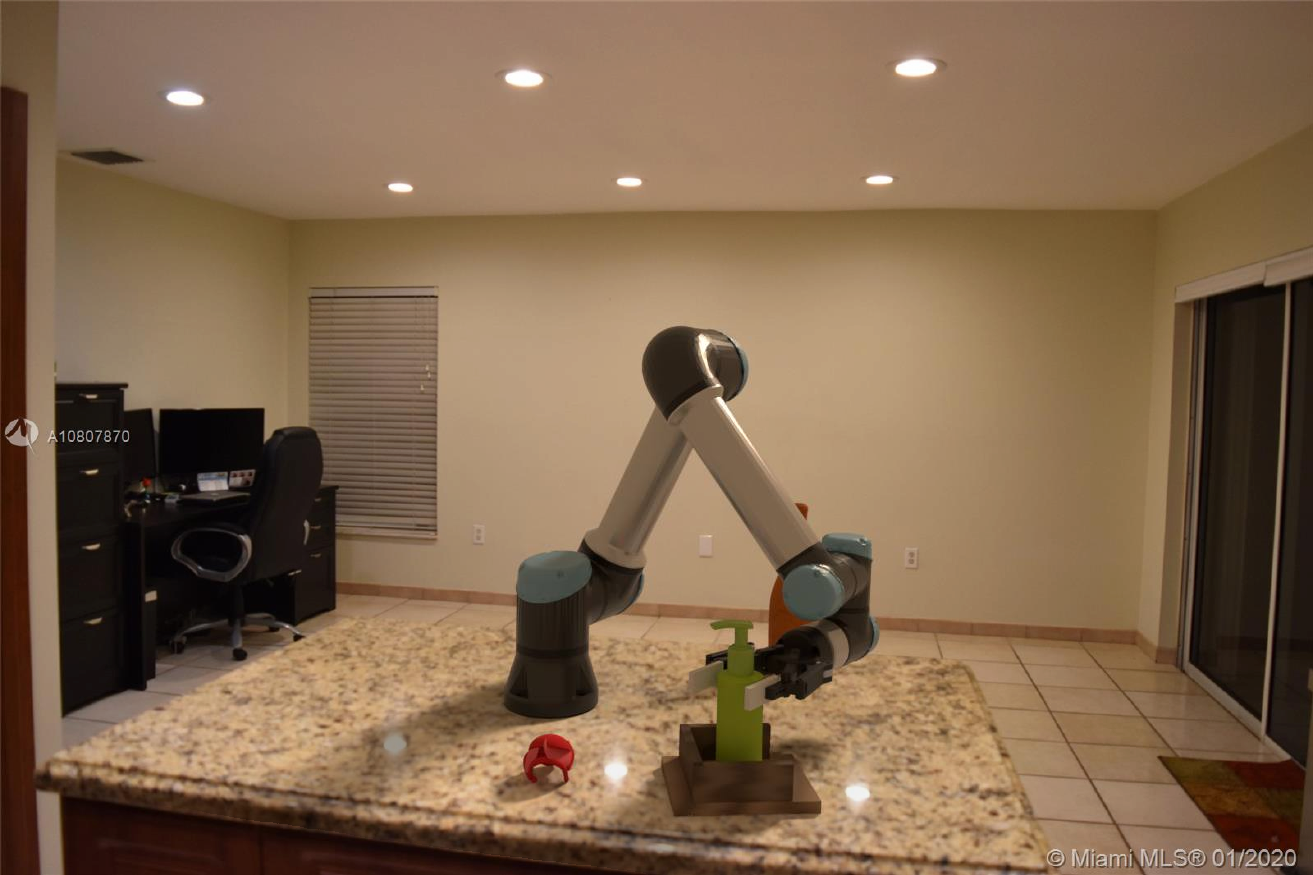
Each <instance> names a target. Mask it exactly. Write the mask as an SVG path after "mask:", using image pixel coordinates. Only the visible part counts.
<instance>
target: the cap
mask: <svg viewBox="0 0 1313 875" xmlns="http://www.w3.org/2000/svg"><path fill="white" fill-rule="evenodd" d="M575 754H576V753H575V751H574V748H573V745H572V744H571V742H570V741H569V740H567V739H566V738H564V737H563V736H561V735H559V734H557V733H556V734H555V733H545V734H541V735H539V736H537V737H536V738H534V739H533V740H532V741H531V742H530V744H529V746H528V751H527V752H526V753H525V755H524V756H523V759H522V760H523V761H522V767H523V770H524V774H525V776H526V777H527V779H528V781H530V782H531V783H532V784H536V783H537V782H538V778H537V776H536V775H535V774H534V768H535V767H536V766H540V765H542V766H545V767H557V768H559V769H560V771H561V772H562V775H563V782H565V783H568V782H569V781H570V780H569V779H570V777H569V772H570V770H571V769H572V766H573V764H574V761H575Z"/></svg>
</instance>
